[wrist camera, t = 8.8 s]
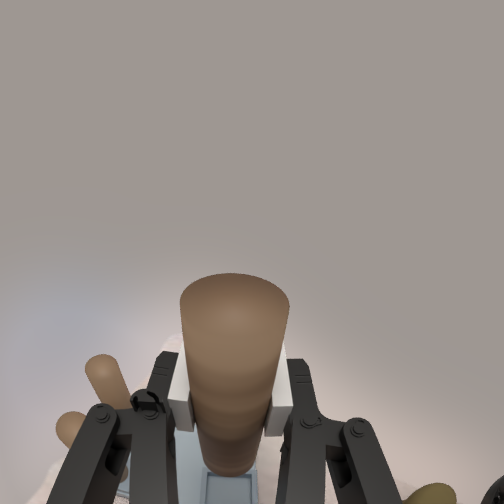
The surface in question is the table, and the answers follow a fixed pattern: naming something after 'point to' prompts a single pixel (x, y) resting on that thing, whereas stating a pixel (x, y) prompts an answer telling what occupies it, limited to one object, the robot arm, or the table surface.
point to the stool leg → (232, 363)
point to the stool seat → (187, 443)
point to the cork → (432, 495)
